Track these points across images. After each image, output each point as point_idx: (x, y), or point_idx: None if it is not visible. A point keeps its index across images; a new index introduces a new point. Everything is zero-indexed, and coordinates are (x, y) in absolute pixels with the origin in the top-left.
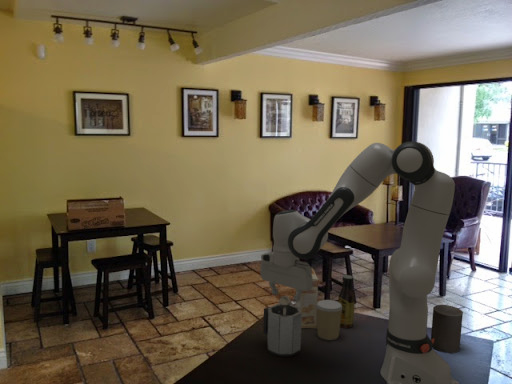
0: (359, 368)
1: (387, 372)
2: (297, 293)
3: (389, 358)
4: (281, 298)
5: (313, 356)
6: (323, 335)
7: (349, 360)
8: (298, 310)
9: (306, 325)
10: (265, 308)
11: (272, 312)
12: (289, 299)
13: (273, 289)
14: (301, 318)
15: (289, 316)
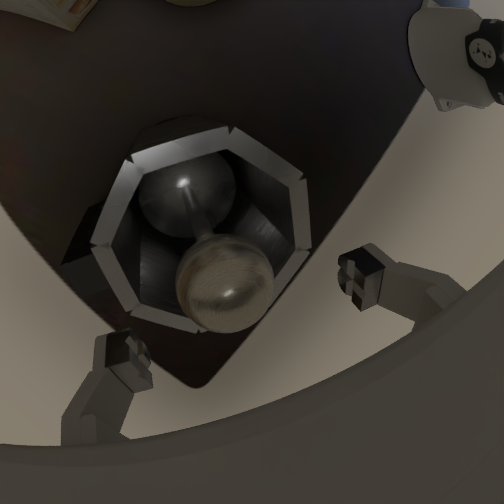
0: (384, 81)
1: (446, 96)
2: (412, 316)
3: (471, 97)
4: (231, 332)
5: (277, 121)
6: (207, 1)
7: (351, 61)
8: (267, 168)
9: (91, 4)
10: (77, 288)
11: (134, 273)
12: (270, 277)
13: (130, 393)
14: (68, 14)
15: (297, 266)
